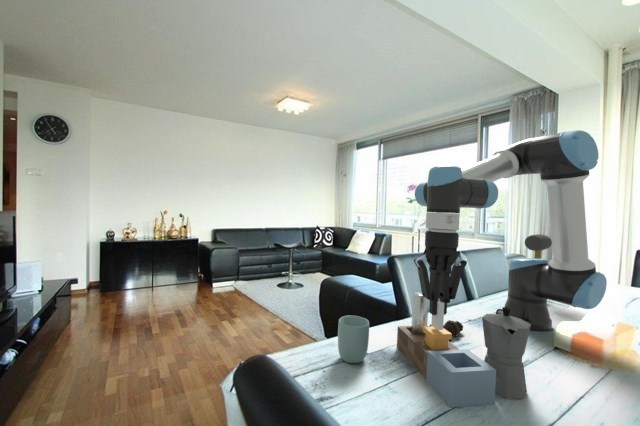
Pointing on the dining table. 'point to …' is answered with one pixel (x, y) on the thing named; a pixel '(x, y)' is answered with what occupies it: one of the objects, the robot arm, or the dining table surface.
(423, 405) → the dining table surface
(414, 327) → the brushed steel rod
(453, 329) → the bolt
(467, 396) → the block
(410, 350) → the socket block
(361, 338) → the cup
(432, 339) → the release button
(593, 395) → the dining table surface
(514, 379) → the coffeepot
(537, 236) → the rubber mallet
